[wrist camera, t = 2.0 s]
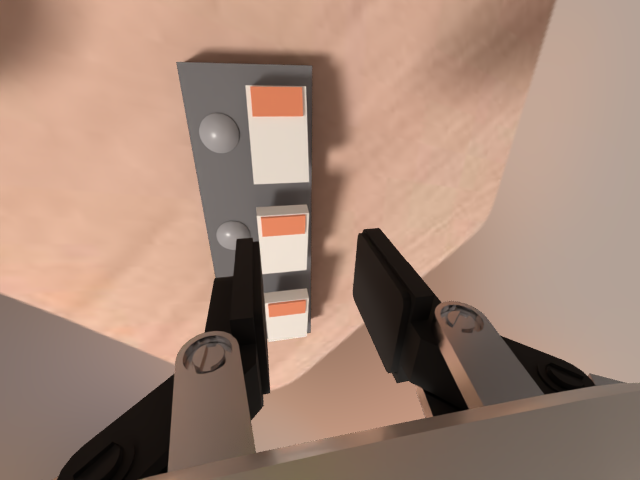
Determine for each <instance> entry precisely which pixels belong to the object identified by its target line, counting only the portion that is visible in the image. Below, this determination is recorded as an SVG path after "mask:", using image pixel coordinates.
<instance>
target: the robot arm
mask: <svg viewBox="0 0 640 480" xmlns="http://www.w3.org/2000/svg"><path fill="white" fill-rule="evenodd" d="M353 297H354V301H355V303H356V305H357V307H358V310H359V312H360V314H361V316H362V318H363V321H364V323H365V325H366V327H367V329H368V332H369V334H370V336H371V338H372V341H373V343H374V345H375V347H376V349H377V351H378V354H379V356H380V358H381V360H382V363H383V365H384V367H385V369H386V371H387V372H388V373H392V374H393V376H394V378H395V380H396V382H397V383H400V382H405V381H410V382H411V383H413V384H415V388H416V392H417V396H418V398H419V401H420V404H421V407H422V410H423V412H424V415H425V418H424V419H420V420H414V421H410V422H405V423H399V424H395V425H390V426H385V427H380V428H375V429H370V430H365V431H361V432H355V433H350V434H345V435H340V436H336V437H331V438H326V439H321V440H316V441H311V442H307V443H302V444H298V445H293V446H288V447H283V448H278V449H273V450H269V451H263V452H259V453H256V451H255V445H254V438H253V432H252V426H251V420H252V419H253V418H254V417H255V415H256V414H257V413H258V412H259V411H260V410H261V408H262V407H263V394H268V393H270V381H269V364H268V347H267V330H266V313H265V299H264V288H263V277H262V266H261V255H260V244H259V241H255V242H253V238H241V239H237V240H236V251H235V262H234V273H233V276H229V277H218V278H215V279H214V284H213V289H212V295H211V300H210V306H209V311H208V317H207V322H206V328H205V333H203V334H200V335H197V336H196V337H194V338H192V339H190V340H189V341H188V342H187V343H186V344H185V345H183V346H182V348H181V349H180V351H179V352H178V354H177V357H176V361H175V374H173V375H172V376H171V377H170V378H168V379H167V380H166V381H165V382H164V383H162V384H161V385H160V386H159V387H157V388H156V389H155V390H153V391H152V392H151V393H149V394H148V395H147V396H146V397H144V398H143V399H142V400H141V401H139V402H138V403H137V404H136V405H134V406H133V407H132V408H130V409H129V410H128V411H127V412H125V413H124V414H123V415H122V416H120V417H119V418H118V419H116V420H115V421H114V422H113V423H111V424H110V425H109V426H108V427H106V428H105V429H104V430H103V431H101V432H100V433H99V434H97V435H96V436H95V437H94V438H92V439H91V440H90V441H89V442H88V443H86V444H85V445H84V446H83V447H81V448H80V449H79V450H78V451H77V452H76V453H75V454H74V455H73V456H72V457H71V458H70V460H69V461H68V462H67V463H66V465H65V466H64V467H63V469H62V470H61V472H60V475H59V476H57V477H56V478H54V479H53V480H640V383H625V382H620V381H617V380H613V379H609V378H605V377H601V376H598V375H593V374H589V375H588V376H587V375H586V374H584V372H582V371H581V370H580V369H578V368H577V367H575V366H574V365H572V364H570V363H568V362H566V361H564V360H562V359H559V358H556V357H554V356H551V355H549V354H546V353H544V352H541V351H538V350H536V349H533V348H531V347H528V346H525V345H523V344H520V343H518V342H515V341H513V340H510V339H508V338H505V337H502V336H500V335H499V333H498V332H497V331H496V329H495V328H494V327H493V325H492V324H491V323H490V321H489V320H488V319H487V317H486V316H485V315H484V314H483V313H482V312H480V311H479V310H477V309H476V308H474V307H472V306H470V305H468V304H465V303H461V302H456V301H455V302H454V301H448V302H443V303H441V301H440V300H439V299H438V298H437V297H436V295H435V294H434V293H433V292H432V290H431V289H430V288H429V287H428V286H427V284H426V283H425V282H424V281H423V280H422V278H421V277H420V276H419V275H418V274H417V272H416V271H415V270H414V269H413V267H412V266H411V265H410V264H409V263H408V262H407V261H406V260H405V259H404V257H403V256H402V255H401V254H400V252H399V251H398V250H397V249H396V248H395V246H394V245H393V244H392V243H391V242H390V240H389V239H388V238H387V237H386V235H385V234H384V233H383V232H382V231H381V229H379V228H375V229H364V230H363V232H362V233H359V235H358V240H357V251H356V262H355V273H354V284H353Z"/></svg>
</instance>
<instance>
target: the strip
mask: <svg viewBox="0 0 640 480" xmlns="http://www.w3.org/2000/svg"><path fill="white" fill-rule="evenodd" d="M176 63H177V69H178V74H179V80H180V85H181V91H182V96H183V102H184V107H185V113H186V118H187V124H188V129H189V135H190V140H191V145H192V151H193V156H194V162H195V167H196V173H197V178H198V184H199V189H200V195H201V200H202V206H203V211H204V217H205V222H206V228H207V233H208V239H209V244H210V250H211V255H212V261H213V266H214V272H215V277H216V278H218V277H229V276H233V273H234V262H235V251H236V240H237V239H241V238H253V242H255V241H259V235H258V224H257V212H256V207H269V206H287V205H305V204H307V207H308V211H309V225H308V248H307V270H300V271H290V272H280V273H269V274H262V277H263V288H264V293H268V292H277V291H286V290H295V289H305V288H307V292H308V296H309V305H308V323H307V333H311V184H312V66H306V65H270V64H233V63H197V62H176ZM245 85H260V86H306V101H307V132H308V163H309V182H299V183H276V184H254V180H253V169H252V157H251V145H250V134H249V122H248V110H247V99H246V87H245ZM266 330H267V323H266ZM267 339H268V333H267Z"/></svg>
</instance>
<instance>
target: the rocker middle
mask: <svg viewBox="0 0 640 480" xmlns="http://www.w3.org/2000/svg"><path fill="white" fill-rule="evenodd" d="M256 212H257V224H258V235H259V244H260V255H261V266H262V274H269V273H280V272H290V271H300V270H307V248H308V225H309V211H308V207H307V204H305V205H287V206H269V207H256Z"/></svg>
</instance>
